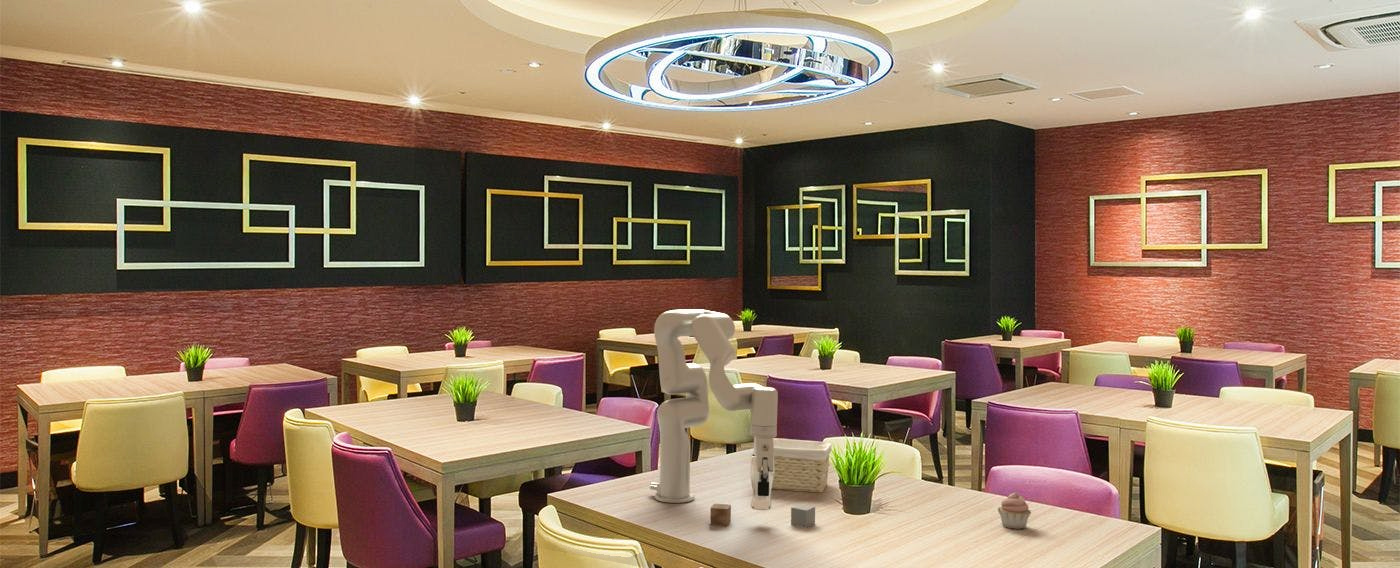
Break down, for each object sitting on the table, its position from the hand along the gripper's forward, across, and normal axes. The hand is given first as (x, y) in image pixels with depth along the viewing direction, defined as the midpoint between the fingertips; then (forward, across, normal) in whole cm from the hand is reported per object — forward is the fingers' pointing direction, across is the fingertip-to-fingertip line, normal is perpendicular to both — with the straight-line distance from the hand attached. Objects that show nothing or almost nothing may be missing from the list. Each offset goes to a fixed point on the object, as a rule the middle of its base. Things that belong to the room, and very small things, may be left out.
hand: (761, 491), depth 262 cm
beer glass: (+5, 0, 0) cm, 5 cm away
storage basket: (+10, +45, -16) cm, 49 cm away
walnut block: (+10, +1, +12) cm, 15 cm away
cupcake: (+8, -3, -73) cm, 73 cm away
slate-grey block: (+9, 0, -12) cm, 15 cm away
